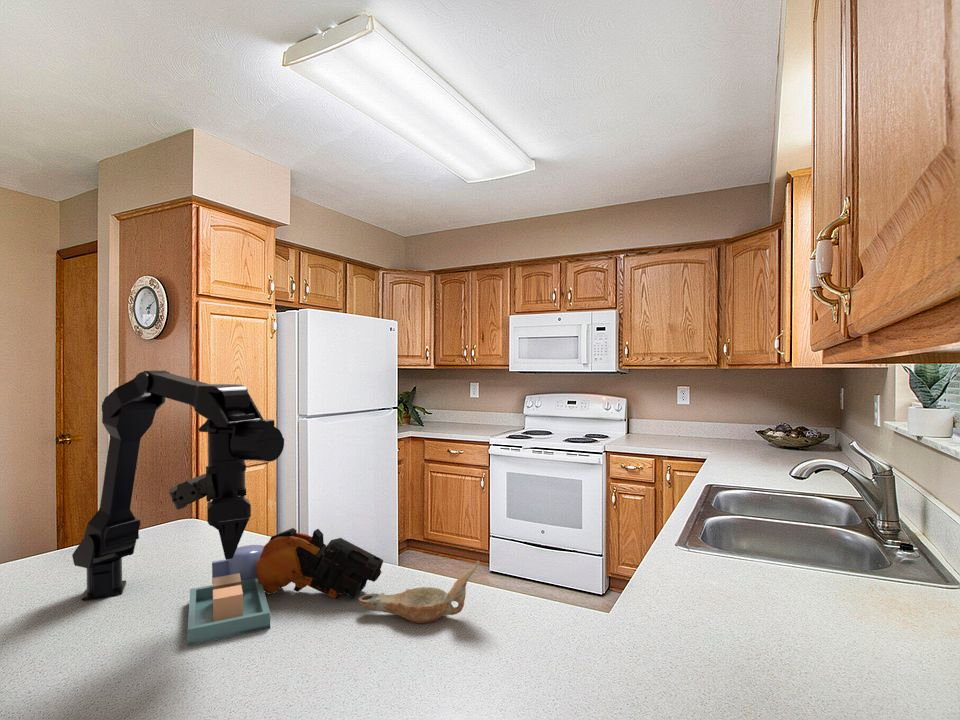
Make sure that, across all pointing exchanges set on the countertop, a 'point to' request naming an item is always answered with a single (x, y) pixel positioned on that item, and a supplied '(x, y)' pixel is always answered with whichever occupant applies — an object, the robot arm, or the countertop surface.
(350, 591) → the tool
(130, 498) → the robot arm
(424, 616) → the oil lamp
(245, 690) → the countertop surface
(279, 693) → the countertop surface
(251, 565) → the mug
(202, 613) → the tray
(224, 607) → the block terracotta
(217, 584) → the block walnut
